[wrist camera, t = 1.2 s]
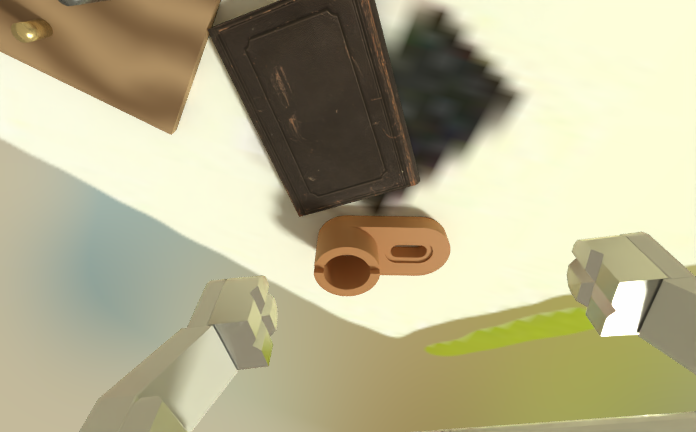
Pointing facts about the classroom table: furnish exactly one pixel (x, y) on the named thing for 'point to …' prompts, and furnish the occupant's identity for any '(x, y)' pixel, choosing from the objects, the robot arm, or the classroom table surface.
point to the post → (78, 2)
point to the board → (118, 50)
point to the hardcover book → (321, 98)
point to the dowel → (31, 30)
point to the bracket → (376, 251)
